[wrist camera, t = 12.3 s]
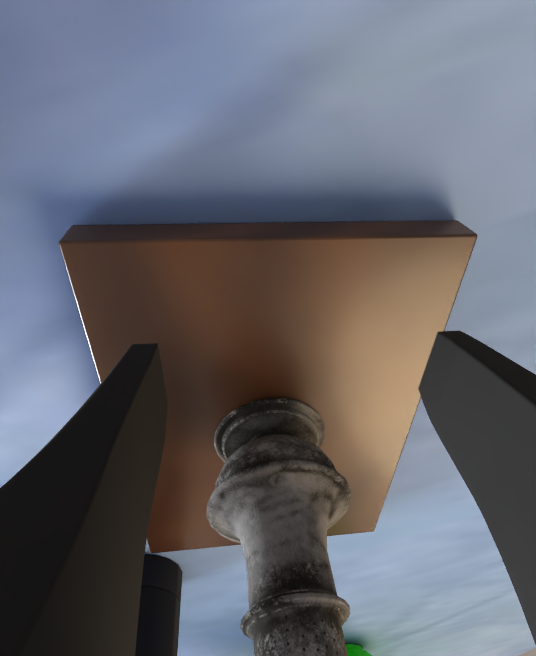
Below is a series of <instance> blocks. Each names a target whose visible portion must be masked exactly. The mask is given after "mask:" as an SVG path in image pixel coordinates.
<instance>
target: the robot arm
mask: <svg viewBox="0 0 536 656" xmlns="http://www.w3.org/2000/svg"><path fill="white" fill-rule="evenodd" d="M418 390H419V392H420V395H421V398H422V400H423V403H424V406H425V408H426V411H427V413H428V416H429V418H430V420H431V423H432V424H433V426H434V428H435V430H436V432H437V434H438V435H439V437H440V439H441V441H442V443H443V444H444V446H445V448H446V450H447V452H448V453H449V455H450V457H451V459H452V460H453V462H454V464H455V466H456V467H457V469H458V471H459V473H460V474H461V476H462V478H463V480H464V481H465V483H466V485H467V487H468V488H469V490H470V492H471V494H472V495H473V497H474V499H475V501H476V503H477V505H478V507H479V509H480V511H481V513H482V514H483V516H484V519H485V521H486V523H487V525H488V528H489V530H490V532H491V534H492V537H493V539H494V541H495V543H496V546H497V548H498V550H499V552H500V555H501V557H502V559H503V562H504V564H505V567H506V569H507V572H508V574H509V576H510V579H511V581H512V584H513V586H514V589H515V591H516V594H517V596H518V598H519V601H520V604H521V606H522V609H523V612H524V615H525V617H526V620H527V623H528V625H529V628H530V631H531V633H532V636H533V639H534V641H535V644H536V375H535V374H533V373H532V372H530V371H528V370H527V369H525V368H523V367H522V366H520V365H518V364H517V363H515V362H513V361H512V360H510V359H508V358H507V357H505V356H503V355H502V354H500V353H498V352H497V351H495V350H493V349H492V348H490V347H488V346H487V345H485V344H483V343H482V342H480V341H478V340H476V339H474V338H473V337H471V336H469V335H467V334H465V333H463V332H461V331H443V332H437V335H436V338H435V341H434V344H433V347H432V350H431V353H430V356H429V358H428V361H427V364H426V367H425V370H424V373H423V376H422V379H421V382H420V385H419V388H418ZM167 407H168V401H167V395H166V389H165V383H164V377H163V371H162V365H161V359H160V353H159V347H158V343H151V344H132V345H131V346H130V347H129V348H128V349H127V351H126V352H125V353H124V355H123V356H122V357H121V359H120V360H119V361H118V363H117V364H116V365H115V366H114V368H113V369H112V370H111V372H110V373H109V374H108V375H107V377H106V378H105V379H104V380H103V382H102V383H101V384H100V385H99V387H98V388H97V389H96V390H95V391H94V393H93V394H92V395H91V396H90V397H89V399H88V400H87V401H86V402H85V403H84V405H83V406H82V407H81V408H80V409H79V410H78V412H77V413H76V414H75V415H74V416H73V417H72V418H71V419H70V420H69V421H68V422H67V423H66V425H65V426H64V427H63V428H62V429H61V430H60V431H59V432H58V433H57V434H56V435H55V436H54V437H53V439H52V440H51V441H50V442H49V443H48V444H47V445H46V446H45V447H44V448H43V449H42V450H41V451H40V452H39V453H38V454H37V455H36V456H35V457H34V458H33V459H32V460H30V461H29V462H28V463H27V464H26V465H25V466H24V467H23V468H22V469H21V470H20V471H19V472H18V473H17V474H15V475H14V476H13V477H12V478H11V479H10V480H9V481H8V482H7V483H6V484H4V485H3V486H2V487H1V488H0V656H135V650H136V638H137V626H138V615H139V604H140V593H141V583H142V573H143V563H144V553H145V545H146V538H147V532H148V526H149V521H150V516H151V510H152V505H153V500H154V495H155V490H156V485H157V480H158V475H159V470H160V464H161V459H162V454H163V449H164V443H165V435H166V422H167Z"/></svg>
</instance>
